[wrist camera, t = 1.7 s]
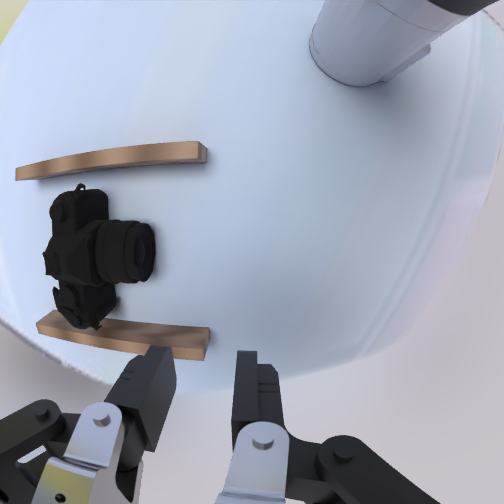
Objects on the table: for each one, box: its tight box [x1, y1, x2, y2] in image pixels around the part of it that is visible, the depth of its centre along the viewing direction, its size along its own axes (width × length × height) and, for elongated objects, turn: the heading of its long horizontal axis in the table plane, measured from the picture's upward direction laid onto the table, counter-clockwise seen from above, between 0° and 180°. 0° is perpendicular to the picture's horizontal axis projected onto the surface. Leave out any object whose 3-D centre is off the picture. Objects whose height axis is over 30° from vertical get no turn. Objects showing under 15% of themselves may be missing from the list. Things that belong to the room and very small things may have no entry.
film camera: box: [42, 183, 155, 331], centre depth 24 cm, size 15×10×9 cm, turn 178°
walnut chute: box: [15, 141, 210, 361], centre depth 26 cm, size 23×21×4 cm
